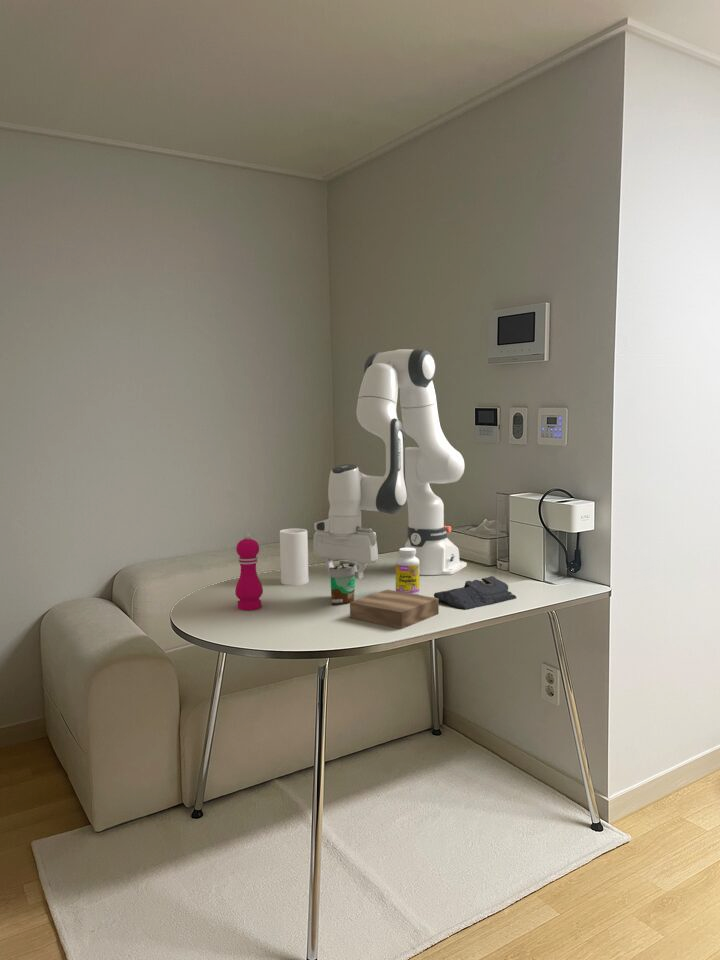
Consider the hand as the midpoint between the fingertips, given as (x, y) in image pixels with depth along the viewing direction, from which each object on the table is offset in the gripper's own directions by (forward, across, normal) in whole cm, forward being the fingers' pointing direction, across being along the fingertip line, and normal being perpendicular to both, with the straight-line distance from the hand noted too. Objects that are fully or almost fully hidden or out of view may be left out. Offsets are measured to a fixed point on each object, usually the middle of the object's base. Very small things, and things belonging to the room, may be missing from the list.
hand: (345, 575), depth 209 cm
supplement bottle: (+7, -9, -16) cm, 20 cm away
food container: (+7, 0, 0) cm, 7 cm away
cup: (+7, +26, -7) cm, 28 cm away
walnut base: (+7, -19, +4) cm, 21 cm away
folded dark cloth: (+7, -26, -23) cm, 36 cm away
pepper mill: (+8, +17, +20) cm, 27 cm away
